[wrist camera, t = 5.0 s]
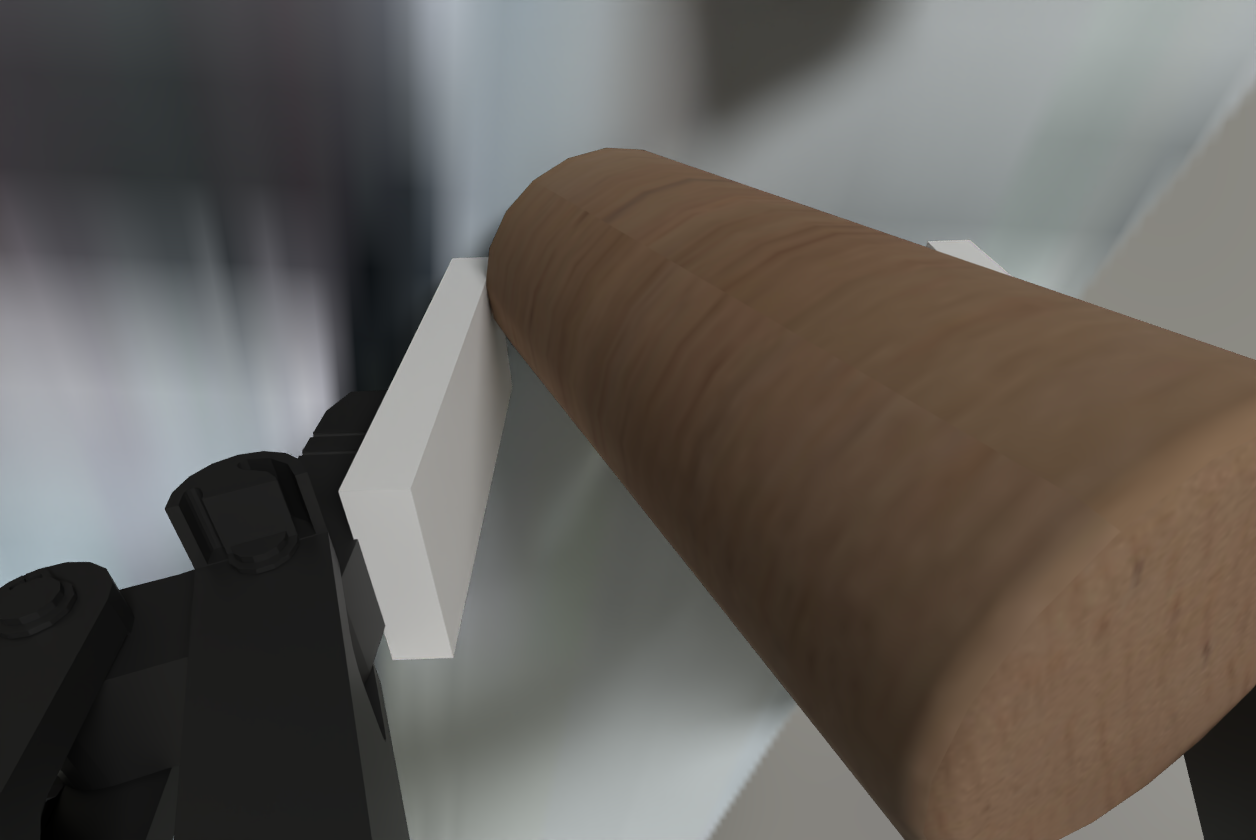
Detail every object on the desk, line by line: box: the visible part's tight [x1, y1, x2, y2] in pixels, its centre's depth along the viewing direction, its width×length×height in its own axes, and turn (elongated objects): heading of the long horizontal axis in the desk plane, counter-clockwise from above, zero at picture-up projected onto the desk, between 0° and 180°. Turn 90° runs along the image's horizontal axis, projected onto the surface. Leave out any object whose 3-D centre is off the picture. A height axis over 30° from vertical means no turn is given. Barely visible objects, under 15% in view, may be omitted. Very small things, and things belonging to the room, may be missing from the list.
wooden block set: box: [486, 148, 1256, 840], centre depth 11 cm, size 18×9×10 cm, turn 16°
